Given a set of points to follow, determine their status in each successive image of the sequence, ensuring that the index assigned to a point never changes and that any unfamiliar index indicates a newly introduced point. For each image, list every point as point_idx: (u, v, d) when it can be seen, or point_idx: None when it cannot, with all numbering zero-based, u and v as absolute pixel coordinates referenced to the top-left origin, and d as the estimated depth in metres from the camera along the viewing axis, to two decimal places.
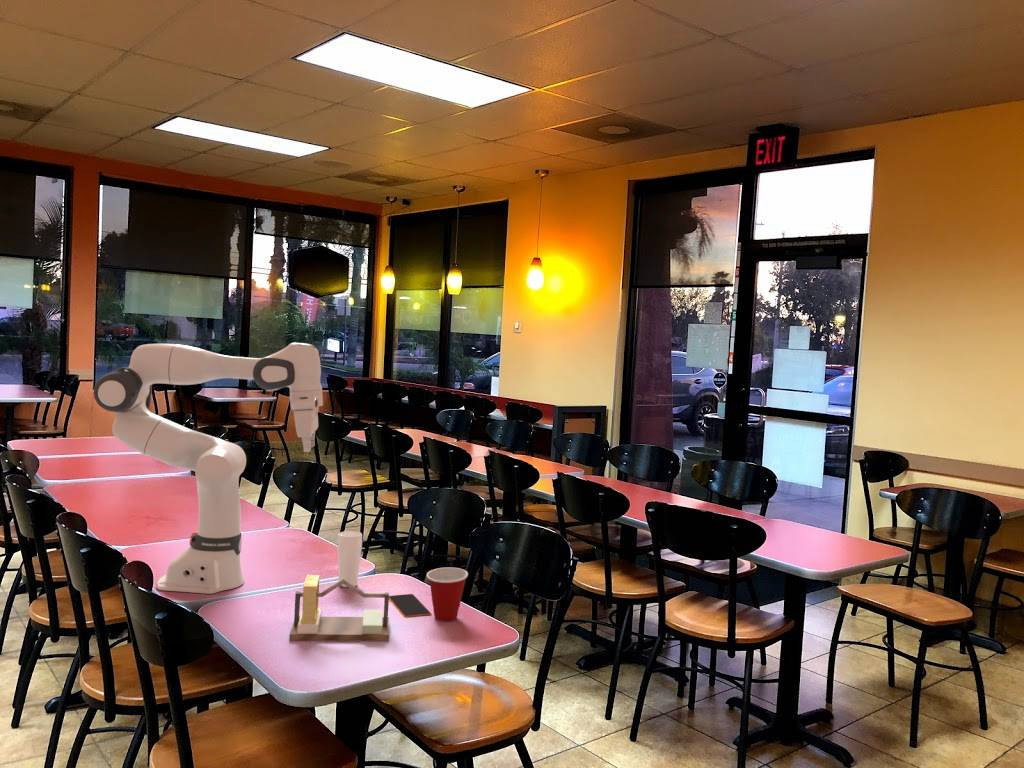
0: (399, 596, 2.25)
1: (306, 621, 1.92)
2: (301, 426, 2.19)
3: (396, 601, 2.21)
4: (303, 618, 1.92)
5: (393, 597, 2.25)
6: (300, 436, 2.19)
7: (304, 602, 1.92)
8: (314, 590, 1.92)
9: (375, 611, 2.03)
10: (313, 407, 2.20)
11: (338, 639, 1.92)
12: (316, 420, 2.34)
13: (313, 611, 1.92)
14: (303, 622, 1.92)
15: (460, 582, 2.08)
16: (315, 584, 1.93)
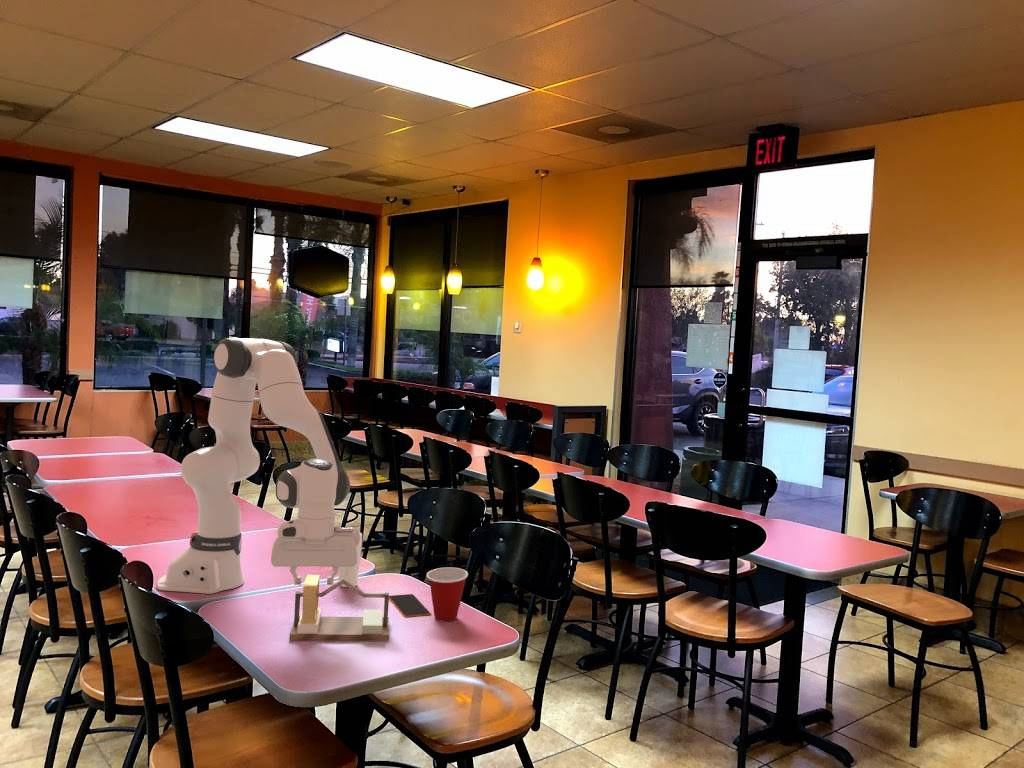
0: (399, 596, 2.25)
1: (306, 621, 1.92)
2: None
3: (396, 601, 2.21)
4: (303, 618, 1.92)
5: (393, 597, 2.25)
6: None
7: (304, 602, 1.92)
8: (314, 590, 1.92)
9: (375, 611, 2.03)
10: (278, 535, 1.92)
11: (338, 639, 1.92)
12: (337, 555, 1.95)
13: (313, 611, 1.92)
14: (303, 622, 1.92)
15: (460, 582, 2.08)
16: (315, 584, 1.93)
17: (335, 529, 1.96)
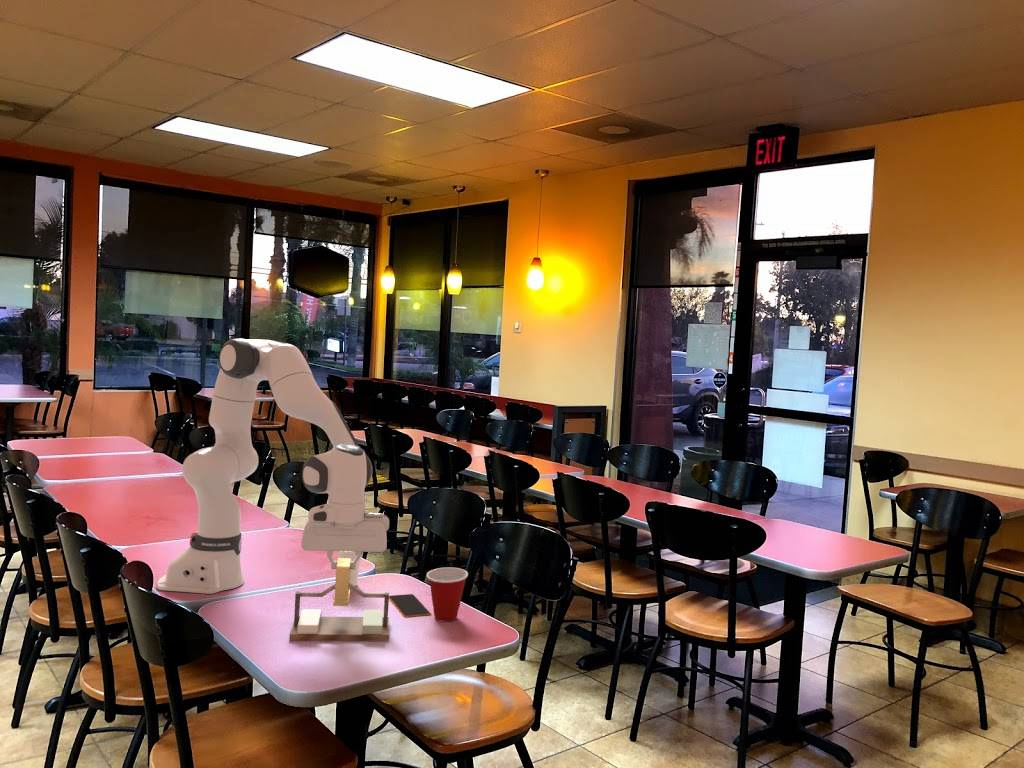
0: (399, 596, 2.25)
1: (338, 603, 1.93)
2: None
3: (396, 601, 2.21)
4: (336, 600, 1.93)
5: (393, 597, 2.25)
6: None
7: (337, 584, 1.93)
8: (347, 572, 1.93)
9: (375, 611, 2.03)
10: (309, 519, 1.92)
11: (338, 639, 1.92)
12: (367, 541, 1.96)
13: (345, 593, 1.93)
14: (336, 604, 1.93)
15: (460, 582, 2.08)
16: (347, 566, 1.94)
17: (365, 514, 1.97)
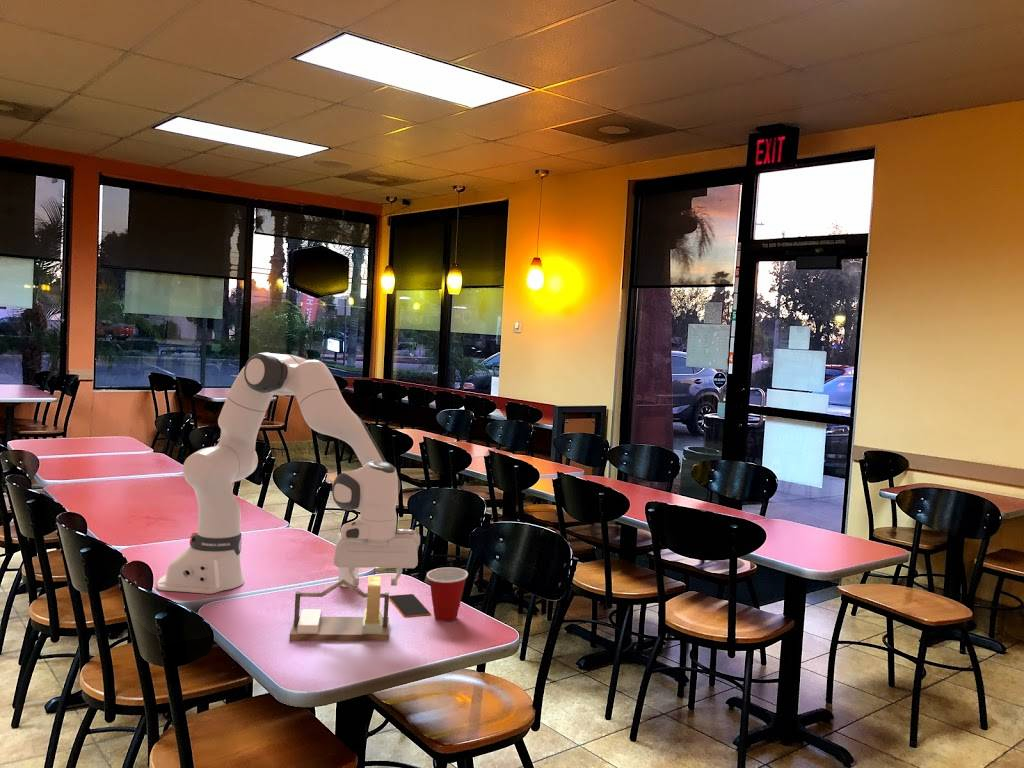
0: (399, 596, 2.25)
1: (370, 621, 1.95)
2: None
3: (396, 601, 2.21)
4: (367, 618, 1.94)
5: (393, 597, 2.25)
6: None
7: (368, 603, 1.94)
8: (378, 591, 1.94)
9: None
10: (341, 536, 1.94)
11: (338, 639, 1.92)
12: (398, 557, 1.97)
13: (377, 611, 1.95)
14: (367, 622, 1.95)
15: (460, 582, 2.08)
16: (379, 585, 1.96)
17: (396, 531, 1.98)
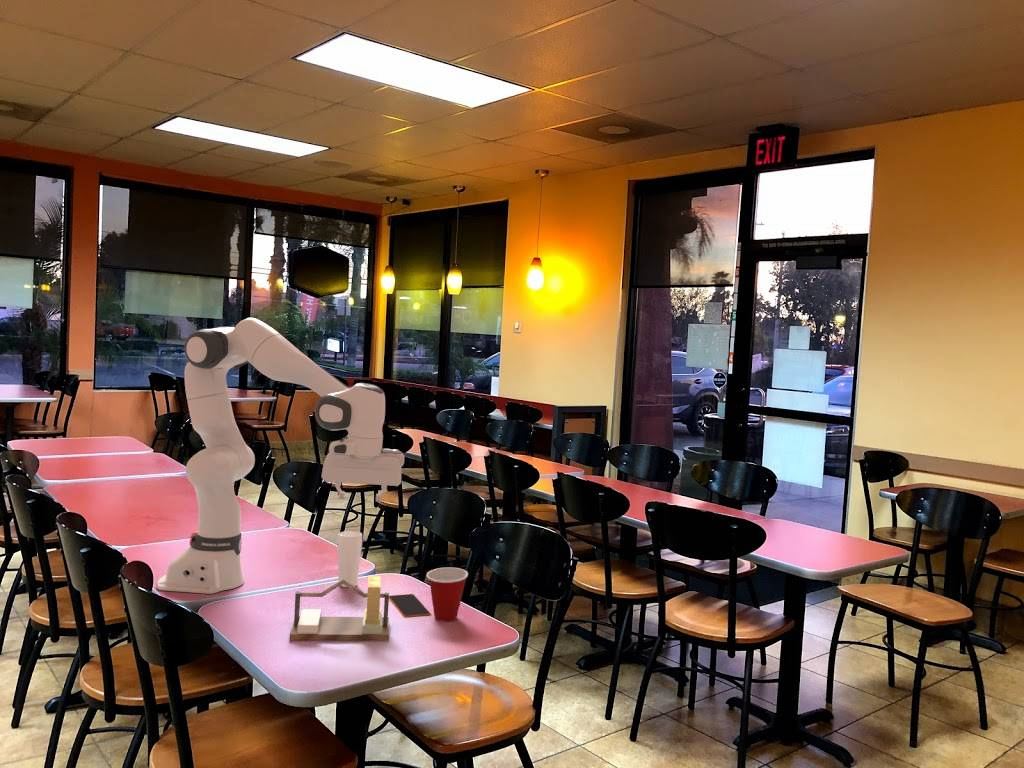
0: (399, 596, 2.25)
1: (370, 621, 1.95)
2: None
3: (396, 601, 2.21)
4: (367, 618, 1.94)
5: (394, 597, 2.25)
6: None
7: (368, 603, 1.94)
8: (378, 591, 1.94)
9: None
10: None
11: (338, 639, 1.92)
12: (383, 474, 2.08)
13: (377, 611, 1.95)
14: (367, 622, 1.95)
15: (460, 582, 2.08)
16: (379, 585, 1.96)
17: (382, 450, 2.09)
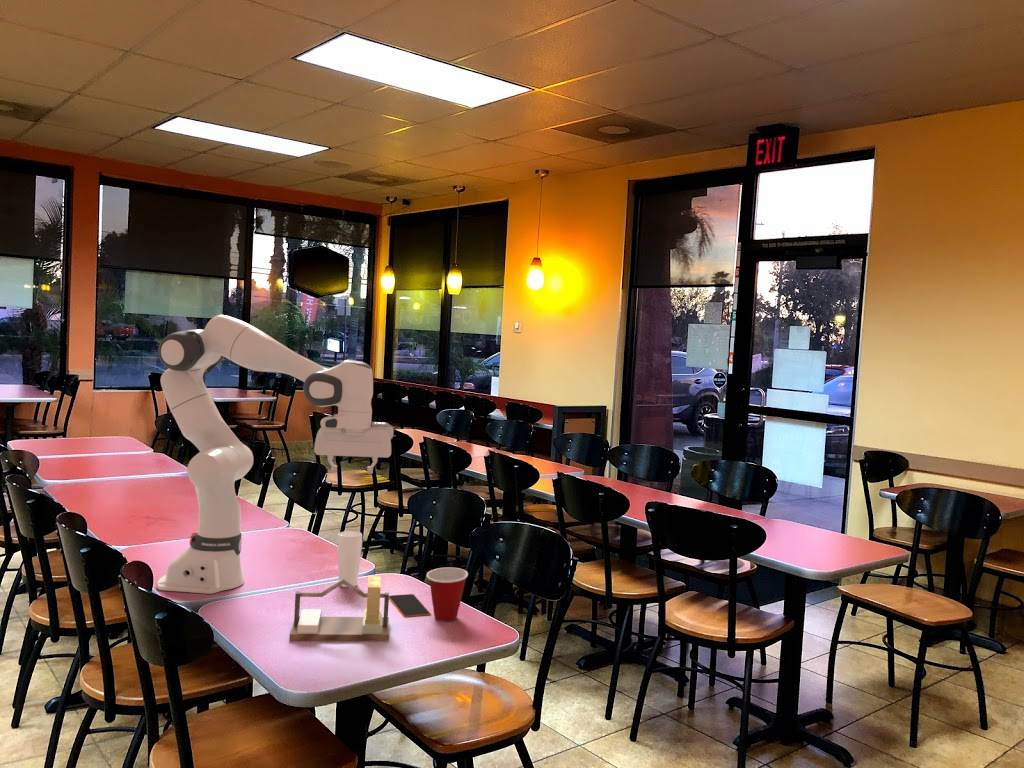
0: (399, 596, 2.25)
1: (370, 621, 1.95)
2: None
3: (396, 601, 2.21)
4: (367, 618, 1.94)
5: (394, 597, 2.25)
6: None
7: (368, 603, 1.94)
8: (378, 591, 1.94)
9: None
10: (321, 426, 2.13)
11: (338, 639, 1.92)
12: (373, 447, 2.16)
13: (377, 611, 1.95)
14: (367, 622, 1.95)
15: (460, 582, 2.08)
16: (379, 585, 1.96)
17: (372, 423, 2.17)
